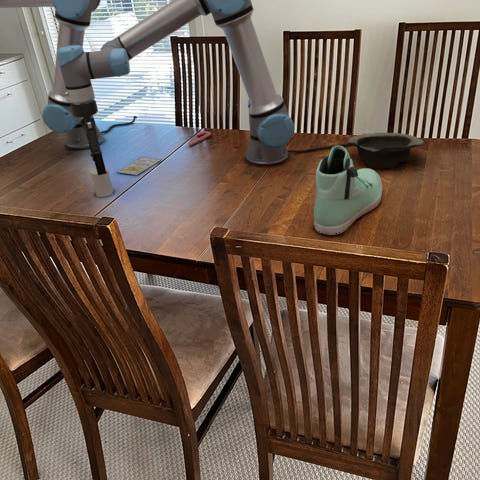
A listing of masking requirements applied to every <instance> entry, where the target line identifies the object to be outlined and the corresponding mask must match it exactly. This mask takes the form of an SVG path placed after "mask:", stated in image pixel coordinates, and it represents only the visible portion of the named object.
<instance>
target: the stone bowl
mask: <svg viewBox="0 0 480 480" xmlns="http://www.w3.org/2000/svg"><path fill="white" fill-rule="evenodd" d="M347 143H348V144H351V145H350V146H352V147H353V146H354V147H356V150H357V151H356V152H357V154H358V156H359V157H360V158H361V160H362V161H365V162H366V163H367V167H368V168H369V169H381V170H382V169H386V168H388V169H389V168H390V169H391V168H394V167H397V166H398V164H399V163H407V162H408V161H409V160H410V155H411V149H415V148H418V147H419V146H421V145H422V144H425V143H426V142H424V140H423V139H420V138H419V137H417V136H414V135H411V134H407V133H401V132H400V133H399V132H373V133H362V134H358V135H354V136H350V138H348V142H347Z"/></svg>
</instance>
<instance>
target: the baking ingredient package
mask: <svg viewBox="0 0 480 480" xmlns="http://www.w3.org/2000/svg"><path fill="white" fill-rule="evenodd" d="M160 161H161V159H154V158H148V157H140V158H138V159H137V160H135V161H133V162H132V163H130V164H129V165H127V166H124V167H123V168H121V169H120V170H118V171H117V173H120V174H128V175H133V176H134V175H135V176H137V175H139V174H140V173H142V172H144V171H146V170H147V169H149V168H150V167H152V166H153V165H156V164H158V162H160Z"/></svg>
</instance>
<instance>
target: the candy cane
mask: <svg viewBox="0 0 480 480" xmlns="http://www.w3.org/2000/svg"><path fill="white" fill-rule="evenodd" d="M211 135H212V134H211V132H210V131H206V130H204V131H202V130H201V131H199V132H197V133H196V137H198V138H197V139H195V140H192V141H190V142H189V143H188V146H189V147H192V146H194V145H196V144H198V143H200V142H203V141H204V140H206V139H208V138H210V137H211ZM200 136H201V137H200Z"/></svg>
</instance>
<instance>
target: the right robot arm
mask: <svg viewBox="0 0 480 480" xmlns="http://www.w3.org/2000/svg"><path fill="white" fill-rule="evenodd" d="M254 11H255V10H254V7H253V3H252V1H251V0H172V1H170V2H168V3H167V4H166V5H163V6H162V7H160V8H159V9H158V10H156V11H154V12H153V13H152V14H150V15H148V16H146V17H145V18H143V19H142V20H141V21H139V22H137V23H136V24H134V25H133V26H131V27H130V28H128V29H127V30H125V31H124V32H122V33H120V34H119V35H118V36H115V38H113V39H112V40H109V41H107V42H105V43H103V45H102V46H101V48H100V50H93V51H85V50H84V47H83V48H82V46H80V45H71V46H65V47H61V48H59V49H58V50H57V49H56V52H57V57H58V61H59V67H60V70H61V73H62V76H63V80H64V83H65V87H66V90H67V92H66V93H65V95H66V96H68V98H69V101H70V102H71V105H70V106H71V109H72V113H73V116H75V117H82V119H83V120H81V123H82V126H83V128H84V130H85V134H86V136H87V139H88V141H89V142H88V143H89V147H90V148H89V151H90V154H89V155H90V158H92V161H93V163H94V165H95V169H96V170H97V174H98V175H103V174H107V172H106V168H107V167H106V165H105V161H104V156H103V152H102V148H101V146H100V144H99V142H98V137H97V135H96V134H97V130H96V127H95V126H97V124H96V121H95V117H94V118H91V116H92V115H93V116H94V115H96V114H97V113H98V112H99V109H98V105H97V101H96V100H95V98H96V95H95V91H94V88H93V84H92V80H97V79H108V78H116V77H117V78H120V77H123V76H128V75H129V74H130V72H131V66H130V61H131V60H132V59H134V58H135V57H137V56H138V55H140V54H141V53H143V52H145V51H146V50H148V49H149V48H151V47H153V46H154V45H156V44H157V43H159V42H160V41H162V40H163V39H166V38H167V37H168V36H170V35H171V34H173V33H175V32H176V31H178V30H180V29H181V28H184V26H186V25H187V24H189V23H191V22H192V21H194V20H195V19H197V18H198V17H200V16H204V17H207V16H208V15H210V14H211V15H212V18H213V21H214V24H215V26H216V27H217V28H220V29H222V31H223V33H224V35H225V38H226V41H227V44H228V46H229V49H230V52H231V54H232V58H233V61H234V62H235V65H236V69H237V71H238V73H239V77H240V79H241V81H242V84H243V88H244V89H245V93H246V95H247V98H248V101H247V103H248V104H247V108H248V122H249V143H248V148H247V151H246V162H247V163H248V164H250V165H253V166H257V167H274V166H278V165H281V164H284V163H285V162H287V160H288V159H289V153H294V154H295V153H297V154H298V153H299V154H300V153H308V152H313V151H318V150H326V149H327V150H328V149H332V148H333V147H334V146H342V147H346V146H347V147H348V146H352V145H351V144H348V143H349V142H347V143H341V144H334V145H325V146H318V147H313V148H306V149H288V148H287V146H286V145H287V144H288V143H289V142H291V140H292V138H293V136H294V133H295V125H294V122H293V119H292V118H291V117H290V114H289V112H288V109H287V106H286V103H285V100H284V98H283V96H282V95H281V94H279V93H277V92H276V88H275V85H274V83H273V80H272V76H271V74H270V71H269V68H268V65H267V62H266V59H265V55H264V53H263V49H262V47H261V44H260V41H259V37H258V35H257V33H256V29H255V26H254V24H253V21H252V20H253V19H252V15H253V13H254Z"/></svg>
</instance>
